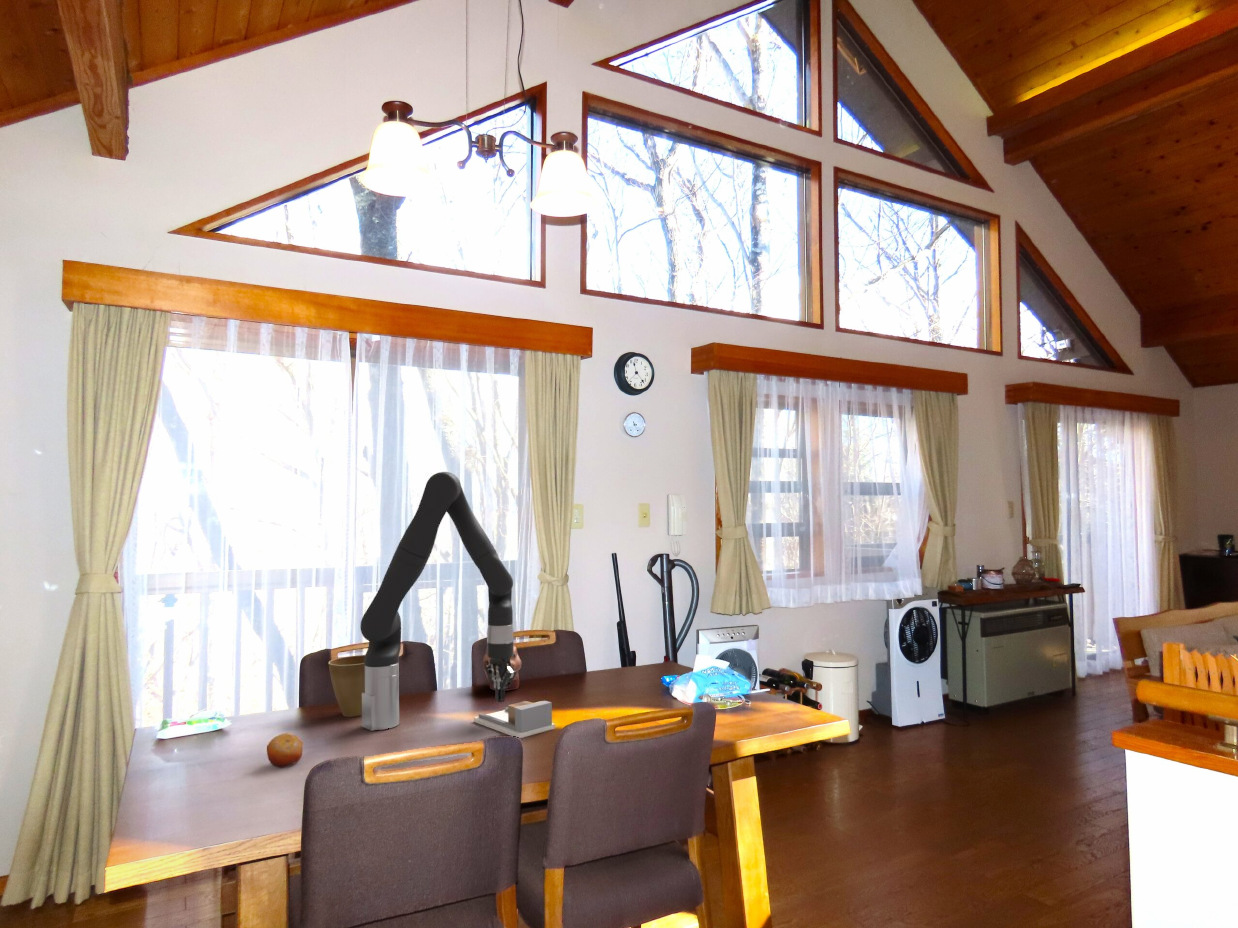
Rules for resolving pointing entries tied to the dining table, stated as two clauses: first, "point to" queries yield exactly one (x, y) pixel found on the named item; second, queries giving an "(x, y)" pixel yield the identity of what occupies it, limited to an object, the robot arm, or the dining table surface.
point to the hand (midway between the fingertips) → (500, 701)
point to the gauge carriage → (512, 710)
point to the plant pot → (348, 683)
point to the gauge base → (505, 730)
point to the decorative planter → (514, 666)
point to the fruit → (284, 750)
